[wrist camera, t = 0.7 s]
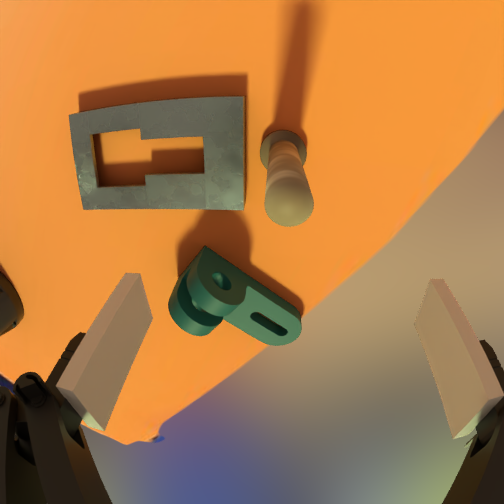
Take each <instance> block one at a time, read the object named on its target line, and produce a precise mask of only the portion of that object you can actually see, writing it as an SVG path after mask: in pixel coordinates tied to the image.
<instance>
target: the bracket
mask: <svg viewBox="0 0 504 504" xmlns="http://www.w3.org/2000/svg"><path fill="white" fill-rule="evenodd" d="M168 308H169V312H170V315H171V317H172V318H173V320H174V321H175V323H176V324H177V325H178V326H179V327H180V328H181V329H183V330H184V331H186V332H187V333H189V334H192V335H196V336H204V335H207V334H209V333H210V332H211V331H212V330H213V329H214V328H216V327H217V326H218V325H219V324H220V323H221V322H222V320H223V319H224V320H226V321H227V322H229V323H231V324H232V325H234V326H236V327H237V328H239V329H241V330H242V331H244V332H246V333H247V334H249V335H251V336H252V337H254V338H256V339H258V340H259V341H261V342H263V343H265V344H268V345H275V346H279V345H285V344H288V343H291V342H293V341H294V340H296V338H298V337H299V335H300V333H301V329H302V327H301V316H300V313H299V311H298V310H297V309H296V308H295V307H294V306H293V305H291V304H290V303H288V302H287V301H285V300H284V299H282V298H281V297H279V296H278V295H276V294H275V293H273V292H272V291H271V290H269V289H268V288H266V287H265V286H263V285H262V284H260V283H259V282H257V281H256V280H254V279H253V278H251V277H250V276H249V275H247V274H246V273H244V272H243V271H241V270H240V269H238V268H237V267H235V266H234V265H233V264H231V263H230V262H228V261H227V260H225V259H224V258H222V257H221V256H220V255H218V254H217V253H215V252H214V251H212V250H211V249H209V248H208V247H207V246H204V247H203V249H202V250H201V251H200V252H199V254H198V255H197V256H196V257H195V258H194V260H193V261H192V262H191V263H190V265H189V266H188V267H187V268H186V270H185V271H184V272H183V273H182V275H181V276H180V277H179V278H178V280H177V282H176V285H175V287H174V289H173V292H172V294H171V296H170V299H169V302H168ZM257 312H259V313H261V314H263V315H264V316H266V317H267V318H269V319H271V320H272V321H274V322H275V323H277V324H279V325H280V326H278V325H277V324H275V323H273V322H272V321H270V320H269V319H267V318H265V317H264V316H262V315H261V314H259V313H257Z"/></svg>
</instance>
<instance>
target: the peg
mask: <svg viewBox="0 0 504 504" xmlns="http://www.w3.org/2000/svg"><path fill="white" fill-rule="evenodd" d="M306 156H307V152H306V147H305V145H304V142H303V141H302V139H301V138H300V137H299V136H298V135H297V134H295V133H293V132H291V131H288V130H278V131H275V132H272V133H271V134H269V135H268V136H267V137H266V138H265V139H264V141H263V142H262V145H261V149H260V158H261V161H262V163H263V165H264V167H265V168H266V169H267V181H266V193H265V210H266V213H267V215H268V216H269V218H270V219H271V220H272V221H273V222H275V223H277V224H279V225H281V226H287V227H291V226H297V225H299V224H301V223H303V222H304V221H306V220H307V219H308V218H309V216H310V215H311V213H312V211H313V206H314V202H313V197H312V194H311V190H310V187H309V184H308V181H307V178H306V175H305V172H304V168H303V165H304V163H305V161H306Z"/></svg>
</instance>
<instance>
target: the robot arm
mask: <svg viewBox="0 0 504 504" xmlns="http://www.w3.org/2000/svg"><path fill="white" fill-rule="evenodd" d="M23 316H24V310H23V306H22V303H21V300H20V298H19V296H18V294H17V292H16V291H15V289H14V288H13V286H12V285H11V283H10V282H9V281H8V280H7V279H6V277H5V276H4V275H3V274H2V273H1V272H0V336H2V335H3V334H5V333H7V332H8V331H10V330H11V329H13V328H15V327H16V326H17V325H18V324H19V323H20V321H21V320H22V319H23ZM152 319H153V317H152V314H151V310H150V307H149V304H148V300H147V297H146V293H145V290H144V286H143V282H142V279H141V275H140V274H138V273H125V275H124V276H123V278H122V279H121V281H120V282H119V283H118V285H117V286H116V288H115V289H114V291H113V292H112V294H111V295H110V297H109V298H108V300H107V301H106V303H105V305H104V306H103V308H102V309H101V311H100V312H99V314H98V315H97V317H96V319H95V320H94V322H93V323H92V325H91V327H90V328H89V330H88V331H87V333H81V332H80V333H78V334H77V335H76V336H75V337H74V338H73V339H71V341H70V342H69V344H68V345H67V347H66V349H65V351H64V352H63V354H62V355H61V359H59V360H58V362H57V364H56V365H55V367H54V369H53V370H52V372H51V374H50V375H49V377H48V379H47V381H46V382H44V381H43V380H42V378H41V377H40V376H39V375H38V374H37V373H35V372H27V373H24V374H23V375H21V376H20V377H19V378H18V379H17V380H16V382H15V384H14V386H13V392H14V393H15V394H16V395H13V394H12V393H11V391H10V390H9V389H8V388H6V387H3V386H0V504H112V502H111V500H110V498H109V495H108V493H107V491H106V489H105V487H104V484H103V482H102V480H101V478H100V475H99V473H98V471H97V468H96V466H95V463H94V461H93V458H92V455H91V453H90V450H89V447H88V445H87V442H86V439H85V436H84V433H83V430H82V428H81V426H80V423H81V421H82V419H83V421H84V422H85V423H86V424H87V425H88V426H89V427H92V428H95V429H99V430H102V431H105V429H106V426H107V424H108V421H109V419H110V416H111V414H112V411H113V409H114V406H115V404H116V401H117V399H118V396H119V394H120V392H121V389H122V387H123V384H124V382H125V380H126V377H127V375H128V373H129V370H130V368H131V366H132V364H133V361H134V359H135V357H136V355H137V352H138V350H139V348H140V346H141V343H142V341H143V339H144V337H145V335H146V332H147V330H148V328H149V326H150V324H151V322H152ZM414 325H415V328H416V330H417V333H418V335H419V338H420V340H421V343H422V345H423V348H424V351H425V353H426V356H427V359H428V362H429V364H430V367H431V370H432V373H433V375H434V379H435V382H436V385H437V387H438V390H439V394H440V397H441V400H442V403H443V407H444V410H445V413H446V417H447V420H448V423H449V427H450V431H451V434H452V438H453V439H455V438H458V437H462V436H466V435H468V434H469V433H470V432H471V431H472V430H473V429H474V428H475V427H476V431H477V434H476V435H475V436H474V437H473V438H472V439H471V440H470V441H469V442H467V444H466V445H465V447H468V446H469V445H470V444H471V446H470V448H469V450H468V453H467V455H466V457H465V459H464V462H463V464H462V466H461V468H460V470H459V472H458V474H457V476H456V478H455V480H454V482H453V484H452V487H451V488H450V490H449V492H448V494H447V496H446V498H445V499H444V501H443V503H442V504H504V370H503V368H502V367H501V364H500V363H499V360H497V356H496V354H495V352H494V350H493V348H492V347H491V346H490V345H489V344H488V343H487V342H486V341H485V340H481V341H479V340H478V338H477V336H476V334H475V333H474V331H473V329H472V327H471V325H470V323H469V322H468V320H467V318H466V316H465V314H464V313H463V311H462V309H461V307H460V306H459V304H458V302H457V301H456V299H455V297H454V296H453V294H452V292H451V291H450V289H449V288H448V286H447V284H446V283H445V281H444V280H443V279H430V280H429V283H428V287H427V289H426V292H425V295H424V298H423V301H422V304H421V306H420V309H419V312H418V315H417V317H416V320H415V322H414Z"/></svg>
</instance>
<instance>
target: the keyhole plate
mask: <svg viewBox="0 0 504 504" xmlns="http://www.w3.org/2000/svg"><path fill="white" fill-rule="evenodd" d="M69 122H70V131H71V139H72V147H73V154H74V160H75V167H76V173H77V179H78V184H79V190H80V195H81V200H82V205H83V209H84V210H94V209H214V210H244V206H245V96H211V97H192V98H177V99H166V100H156V101H147V102H138V103H131V104H124V105H117V106H111V107H105V108H99V109H93V110H88V111H83V112H78V113H75V114H71V115H69ZM139 128H140V131H141V140H144V139H158V138H174V137H199V136H203V144H204V168H205V172H190V173H151V174H146V175H145V181H146V184H140V185H115V186H100V185H99V179H98V172H97V166H96V159H95V151H94V143H93V134H97V133H104V132H112V131H120V130H129V129H139Z"/></svg>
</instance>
